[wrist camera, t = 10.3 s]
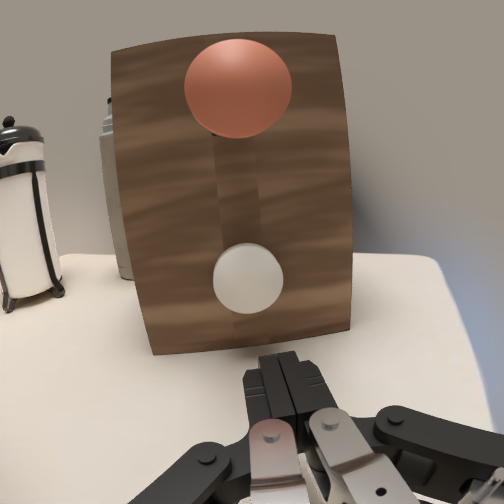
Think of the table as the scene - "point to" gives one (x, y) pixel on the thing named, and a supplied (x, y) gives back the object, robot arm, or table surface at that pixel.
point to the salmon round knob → (237, 88)
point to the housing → (233, 196)
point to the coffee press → (25, 218)
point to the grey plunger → (247, 278)
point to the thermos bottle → (114, 196)
